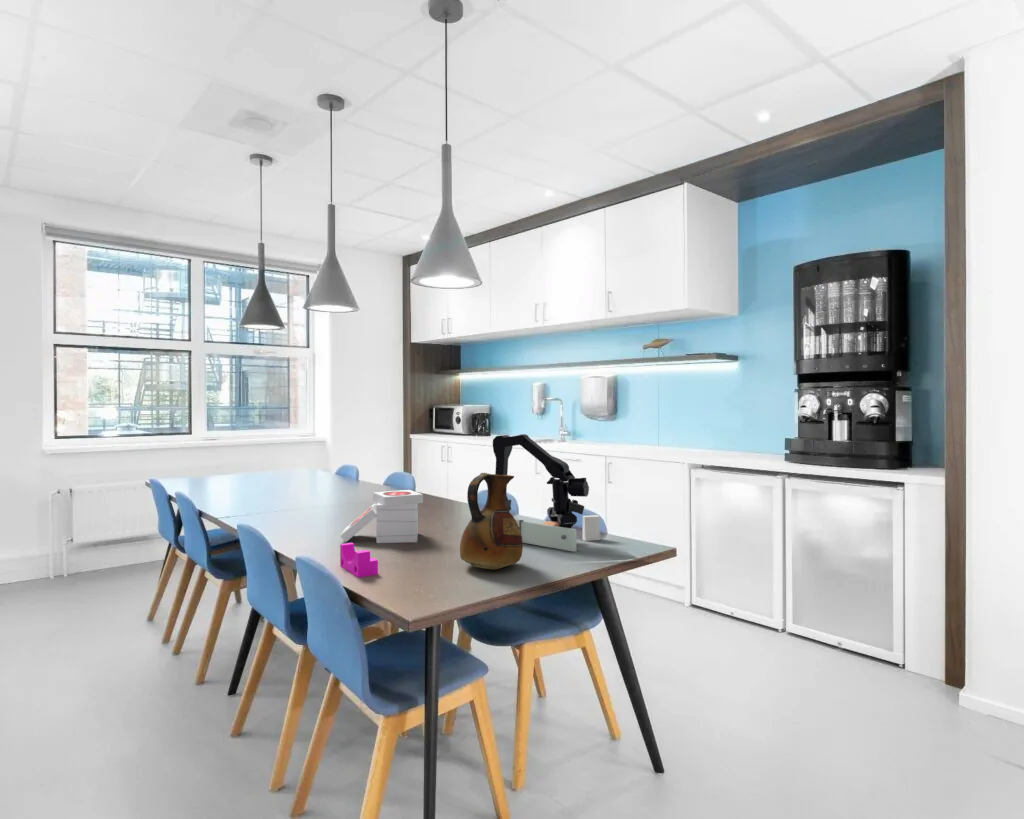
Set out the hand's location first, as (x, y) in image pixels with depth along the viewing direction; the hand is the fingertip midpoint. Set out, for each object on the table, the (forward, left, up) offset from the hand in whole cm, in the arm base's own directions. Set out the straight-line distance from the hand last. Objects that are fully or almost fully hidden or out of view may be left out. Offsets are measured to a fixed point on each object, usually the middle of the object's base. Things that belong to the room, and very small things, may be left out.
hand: (562, 537), depth 228 cm
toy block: (-73, -22, -3) cm, 76 cm away
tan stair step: (-2, +2, -2) cm, 3 cm away
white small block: (-15, +5, -2) cm, 16 cm away
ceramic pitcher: (-32, -26, -3) cm, 41 cm away
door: (-15, +5, -2) cm, 16 cm away
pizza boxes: (-65, +21, -3) cm, 68 cm away
